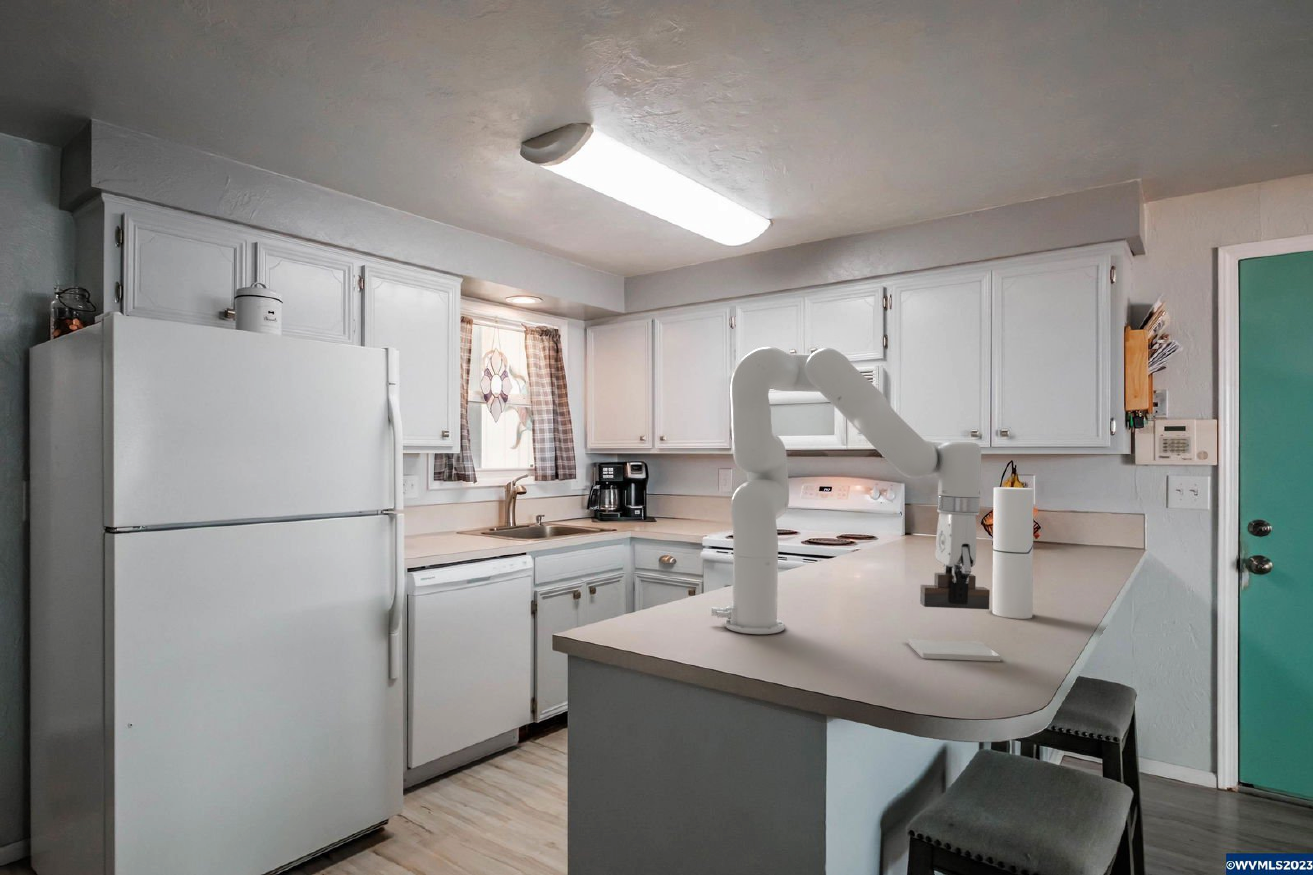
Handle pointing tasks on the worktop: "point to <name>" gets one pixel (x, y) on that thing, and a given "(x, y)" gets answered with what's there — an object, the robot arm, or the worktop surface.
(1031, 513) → the container
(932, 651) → the tile
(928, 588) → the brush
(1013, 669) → the worktop surface
